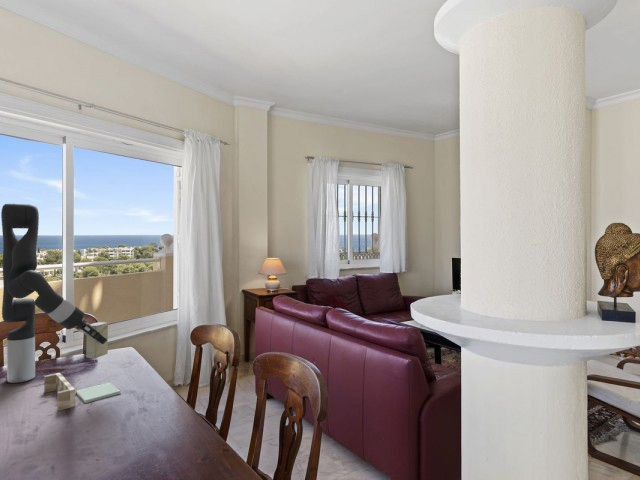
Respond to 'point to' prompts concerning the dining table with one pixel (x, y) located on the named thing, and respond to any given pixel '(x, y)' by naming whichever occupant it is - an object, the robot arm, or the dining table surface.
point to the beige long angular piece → (60, 390)
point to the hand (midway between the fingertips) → (101, 340)
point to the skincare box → (94, 346)
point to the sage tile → (97, 392)
